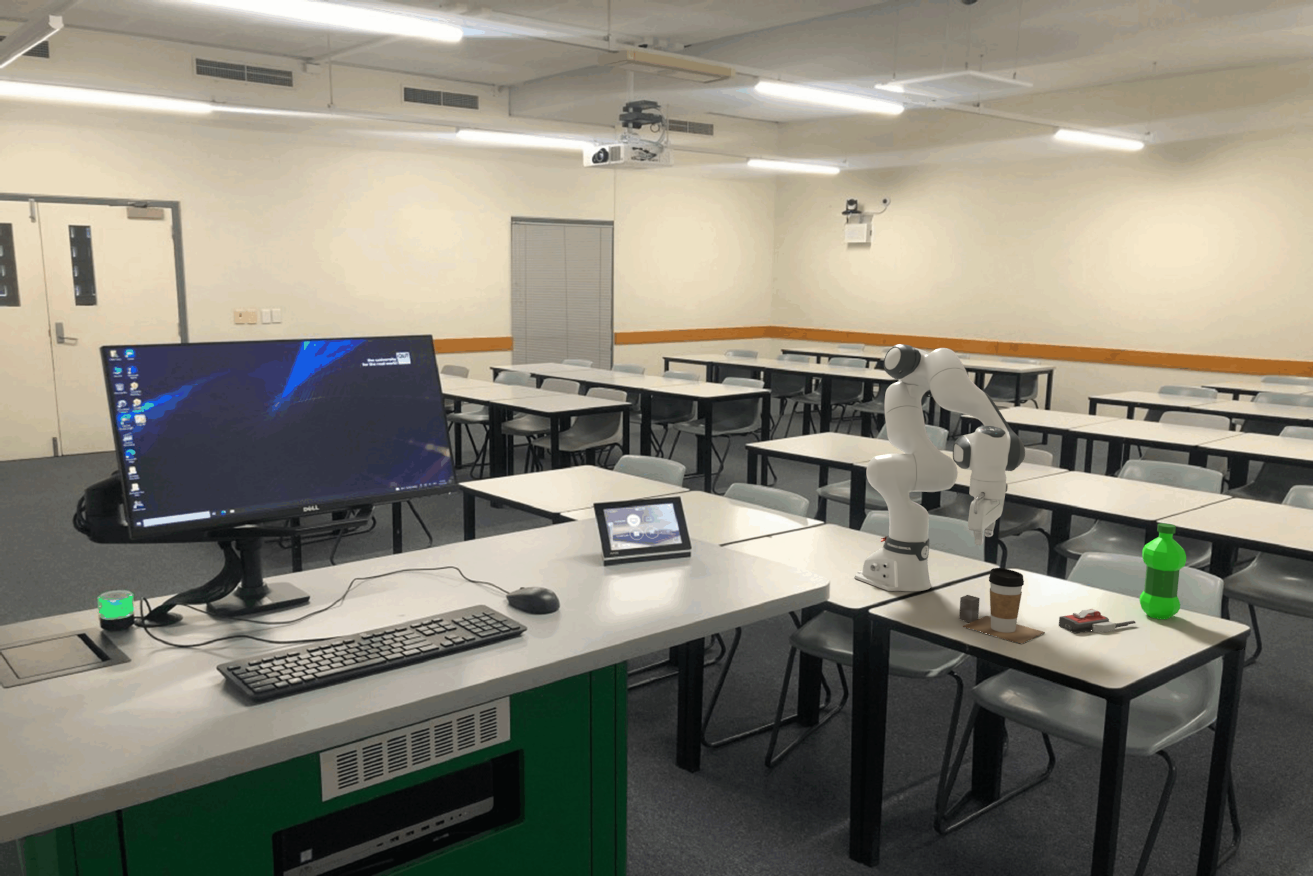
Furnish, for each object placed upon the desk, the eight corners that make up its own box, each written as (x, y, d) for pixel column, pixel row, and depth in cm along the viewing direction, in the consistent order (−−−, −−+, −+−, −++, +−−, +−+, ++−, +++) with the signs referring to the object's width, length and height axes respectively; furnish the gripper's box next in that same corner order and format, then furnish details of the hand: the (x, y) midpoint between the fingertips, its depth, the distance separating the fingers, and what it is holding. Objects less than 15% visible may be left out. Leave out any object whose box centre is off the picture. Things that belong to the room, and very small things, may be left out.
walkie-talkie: (1079, 638, 241) (1137, 628, 249) (1080, 621, 240) (1139, 612, 248) (1052, 627, 249) (1110, 618, 257) (1054, 610, 248) (1111, 602, 256)
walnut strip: (950, 623, 250) (951, 600, 249) (974, 613, 258) (975, 591, 257) (1021, 644, 235) (1023, 620, 234) (1044, 633, 243) (1046, 609, 242)
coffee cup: (995, 620, 251) (998, 565, 249) (1026, 629, 245) (1030, 572, 243) (979, 628, 245) (983, 571, 243) (1011, 637, 239) (1015, 579, 237)
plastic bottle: (1141, 607, 264) (1149, 518, 260) (1184, 615, 258) (1193, 525, 254) (1132, 616, 257) (1140, 525, 253) (1175, 625, 250) (1184, 532, 246)
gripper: (989, 498, 240) (985, 552, 242) (1009, 483, 257) (1005, 533, 259) (963, 495, 243) (960, 547, 246) (985, 480, 260) (982, 529, 263)
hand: (983, 540), depth 253 cm, fingers open, 8 cm apart
